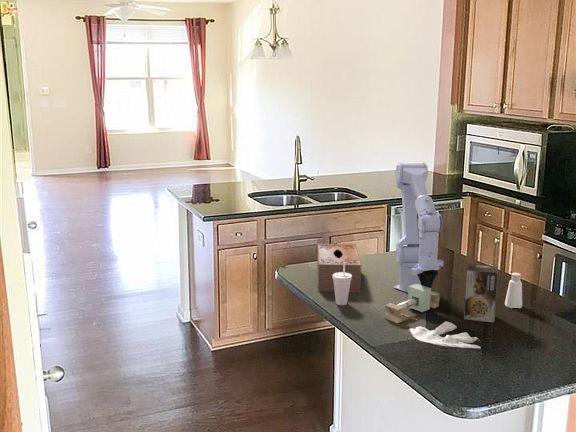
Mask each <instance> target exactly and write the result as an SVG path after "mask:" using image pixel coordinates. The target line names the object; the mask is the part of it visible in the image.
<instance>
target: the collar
mask: <svg viewBox="0 0 576 432" xmlns="http://www.w3.org/2000/svg"><path fill="white" fill-rule="evenodd" d="M431 291H432V287H431V288H429V287H426V286H422V285H419V284H414V285H411V286H409V290H408V292H407V301H408V300H411V299H413V298H419V303H418V304H416V305H413V306H411V307H408V308H409V309H411V310H412V309H413V310H415V311H418V312H421V313H424V312H427V311H428V310H431V307H430V298H431Z"/></svg>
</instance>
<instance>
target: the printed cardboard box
mask: <svg viewBox="0 0 576 432" xmlns="http://www.w3.org/2000/svg"><path fill="white" fill-rule="evenodd" d="M498 275H499V267H498V266H494V265H493V266H492V265H482V264H481V265H480V264H470V263H469V264H467V268H466V281H465V282H466V284H465V299H464V313H463V314H464V315H463V320H469V321H477V322H487V323H495V321H496V320H495V317H496V308H497V307H496V305H497V304H496V303H497V291H498V277H499V276H498Z"/></svg>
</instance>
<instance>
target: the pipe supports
mask: <svg viewBox="0 0 576 432" xmlns="http://www.w3.org/2000/svg"><path fill="white" fill-rule="evenodd" d="M397 305H398V304H394V303H392V302H389V303H387V304H384V319H385V320H388V321H390V322H393V323H396V324H399V323H401V322H403V320H404V317H405V318H409V319H410V320H414V321H416V322H417V321H419V318H415V317H413V316H411V315H408V314H405V313H404V309H403V307H400V306H397ZM439 306H440V293H439V292H436V291H432V290H431V298H430V308H432V309H436V308H439ZM390 307H391V308H392V309H394V310H391V308H390ZM389 309H390V310H389ZM393 311H394V313H393ZM391 312H392V313H393V314H391Z"/></svg>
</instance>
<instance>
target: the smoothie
mask: <svg viewBox="0 0 576 432" xmlns="http://www.w3.org/2000/svg"><path fill="white" fill-rule="evenodd" d="M332 278H333V280H334V290H335V292H334V296H335V297H334V298H335V304H336V305H338V306H346V305H348V302H349V301H348V300H349V295H350V292H349V288H350V282H351V279H352V275H351V274H349V273H345V262H343V272H338V273H334V274H333V277H332Z"/></svg>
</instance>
